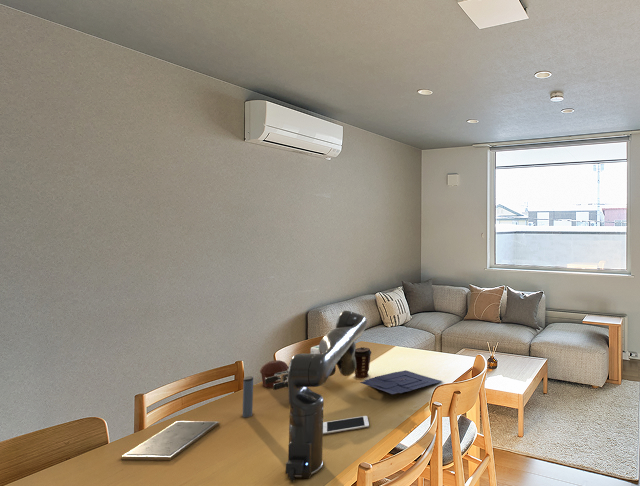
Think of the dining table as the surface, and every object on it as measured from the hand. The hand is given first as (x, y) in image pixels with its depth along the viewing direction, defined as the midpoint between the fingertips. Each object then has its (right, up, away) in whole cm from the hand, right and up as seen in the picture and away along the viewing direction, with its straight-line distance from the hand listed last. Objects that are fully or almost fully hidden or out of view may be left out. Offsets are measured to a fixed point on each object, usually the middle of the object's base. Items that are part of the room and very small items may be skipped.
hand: (269, 384), depth 153 cm
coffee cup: (+26, -11, +34) cm, 44 cm away
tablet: (-19, -9, -24) cm, 32 cm away
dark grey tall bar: (-5, -9, -6) cm, 12 cm away
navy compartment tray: (+47, -11, +23) cm, 54 cm away
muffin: (-11, -10, +24) cm, 28 cm away
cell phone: (+34, -9, -13) cm, 38 cm away
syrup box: (+6, -11, +32) cm, 34 cm away
